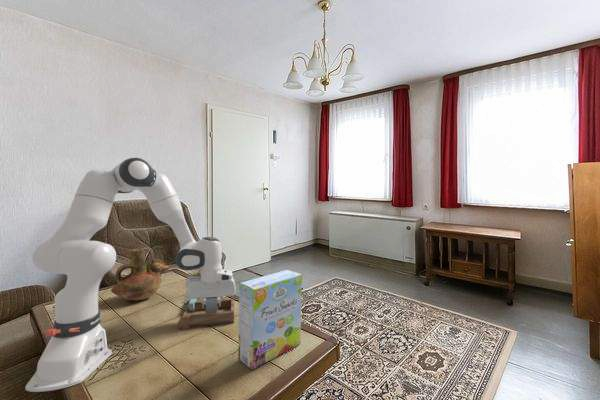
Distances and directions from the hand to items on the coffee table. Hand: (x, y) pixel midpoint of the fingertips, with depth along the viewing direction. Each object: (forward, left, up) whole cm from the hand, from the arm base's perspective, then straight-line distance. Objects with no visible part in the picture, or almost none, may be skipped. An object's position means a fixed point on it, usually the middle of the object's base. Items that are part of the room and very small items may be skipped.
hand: (211, 306), depth 122 cm
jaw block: (0, 0, -3) cm, 3 cm away
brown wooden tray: (+6, +1, -5) cm, 8 cm away
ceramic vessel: (+29, +36, -5) cm, 46 cm away
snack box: (-31, -22, -5) cm, 38 cm away
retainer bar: (+13, +9, -3) cm, 16 cm away
